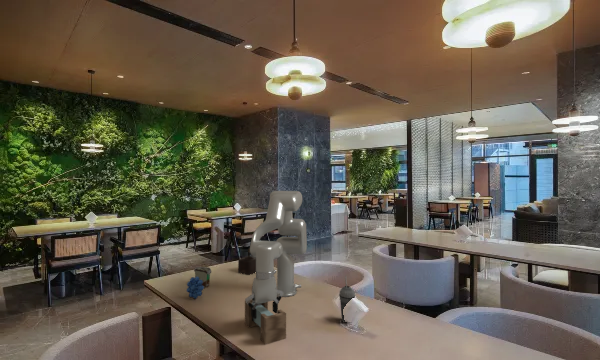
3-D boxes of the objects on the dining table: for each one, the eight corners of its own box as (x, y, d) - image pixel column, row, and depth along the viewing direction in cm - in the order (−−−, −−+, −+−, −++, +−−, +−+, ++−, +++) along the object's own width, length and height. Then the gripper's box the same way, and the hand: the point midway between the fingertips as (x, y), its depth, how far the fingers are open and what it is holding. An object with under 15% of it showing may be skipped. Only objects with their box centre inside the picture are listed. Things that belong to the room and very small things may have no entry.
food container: (215, 285, 191) (215, 268, 191) (207, 288, 185) (208, 271, 185) (202, 281, 197) (202, 265, 197) (194, 284, 192) (194, 267, 192)
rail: (260, 317, 140) (260, 304, 140) (277, 332, 126) (277, 317, 126) (252, 319, 138) (252, 305, 138) (268, 335, 124) (268, 319, 124)
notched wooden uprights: (263, 318, 143) (263, 297, 144) (285, 338, 125) (286, 313, 126) (244, 323, 139) (244, 300, 139) (265, 344, 121) (265, 318, 121)
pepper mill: (236, 273, 217) (237, 247, 217) (247, 269, 226) (248, 244, 226) (253, 276, 208) (254, 249, 208) (264, 272, 217) (264, 246, 218)
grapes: (208, 297, 169) (209, 275, 170) (199, 302, 163) (200, 278, 164) (193, 294, 175) (193, 272, 175) (183, 298, 169) (183, 275, 169)
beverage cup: (345, 325, 137) (345, 280, 137) (335, 319, 143) (336, 275, 144) (358, 322, 140) (358, 277, 141) (348, 316, 147) (348, 273, 147)
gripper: (278, 269, 140) (278, 307, 140) (242, 275, 131) (242, 316, 131) (287, 273, 134) (286, 313, 134) (249, 280, 125) (249, 323, 125)
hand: (264, 314), depth 133 cm, fingers open, 9 cm apart
